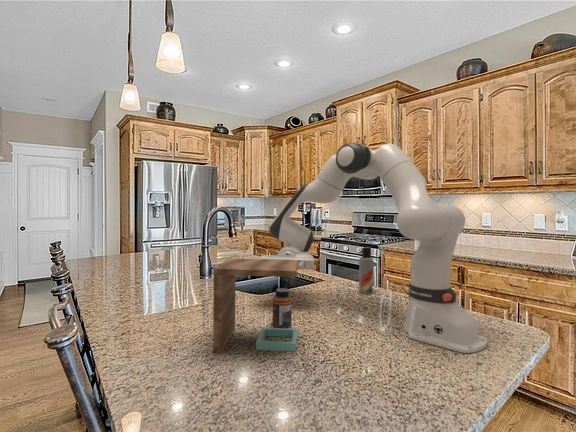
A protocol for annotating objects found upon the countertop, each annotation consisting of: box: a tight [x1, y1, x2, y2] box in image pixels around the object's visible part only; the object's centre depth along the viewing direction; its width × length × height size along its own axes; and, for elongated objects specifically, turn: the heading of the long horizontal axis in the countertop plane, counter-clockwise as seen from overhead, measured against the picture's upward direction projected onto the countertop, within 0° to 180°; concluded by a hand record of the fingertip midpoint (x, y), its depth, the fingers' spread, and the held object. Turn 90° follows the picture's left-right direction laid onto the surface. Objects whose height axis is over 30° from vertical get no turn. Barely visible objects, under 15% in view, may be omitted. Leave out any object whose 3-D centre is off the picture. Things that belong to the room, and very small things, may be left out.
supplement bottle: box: [271, 287, 293, 328], centre depth 106 cm, size 6×6×11 cm
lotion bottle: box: [358, 246, 374, 295], centre depth 145 cm, size 6×6×20 cm
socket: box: [255, 326, 299, 352], centre depth 93 cm, size 10×10×2 cm
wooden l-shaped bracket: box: [212, 257, 299, 354], centre depth 93 cm, size 21×16×22 cm
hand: (285, 266), depth 116 cm, fingers open, 8 cm apart
